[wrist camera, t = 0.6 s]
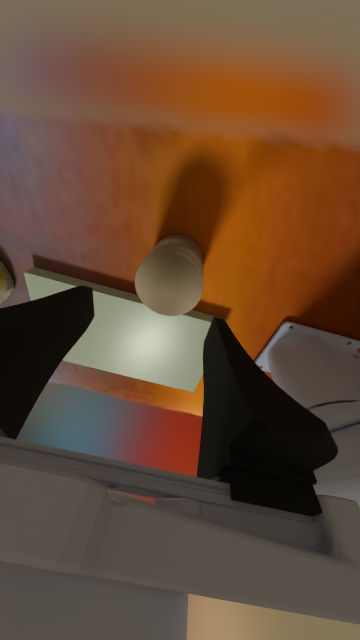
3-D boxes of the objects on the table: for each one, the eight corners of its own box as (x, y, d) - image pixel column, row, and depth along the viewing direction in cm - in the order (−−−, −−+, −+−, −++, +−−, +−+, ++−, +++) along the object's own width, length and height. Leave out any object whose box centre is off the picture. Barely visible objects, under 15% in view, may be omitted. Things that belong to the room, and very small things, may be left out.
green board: (225, 318, 22) (227, 326, 21) (193, 383, 30) (193, 392, 29) (34, 266, 21) (23, 272, 20) (52, 348, 28) (45, 356, 27)
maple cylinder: (210, 242, 18) (212, 264, 13) (194, 289, 20) (191, 322, 16) (157, 226, 17) (139, 243, 12) (149, 276, 20) (131, 306, 15)
